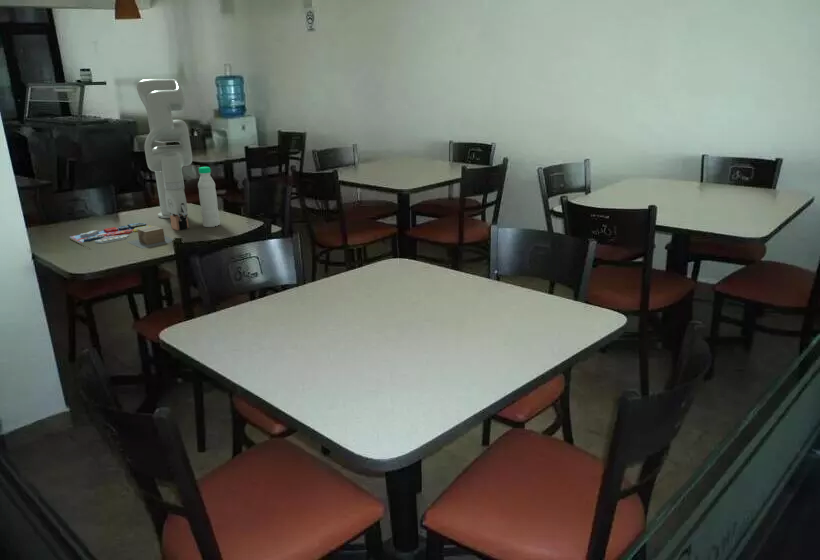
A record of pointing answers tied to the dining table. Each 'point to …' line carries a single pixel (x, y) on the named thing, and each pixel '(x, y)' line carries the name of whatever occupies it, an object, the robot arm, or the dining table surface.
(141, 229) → the base block
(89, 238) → the puzzle board
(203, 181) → the water bottle
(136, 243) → the mat
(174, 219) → the top block
